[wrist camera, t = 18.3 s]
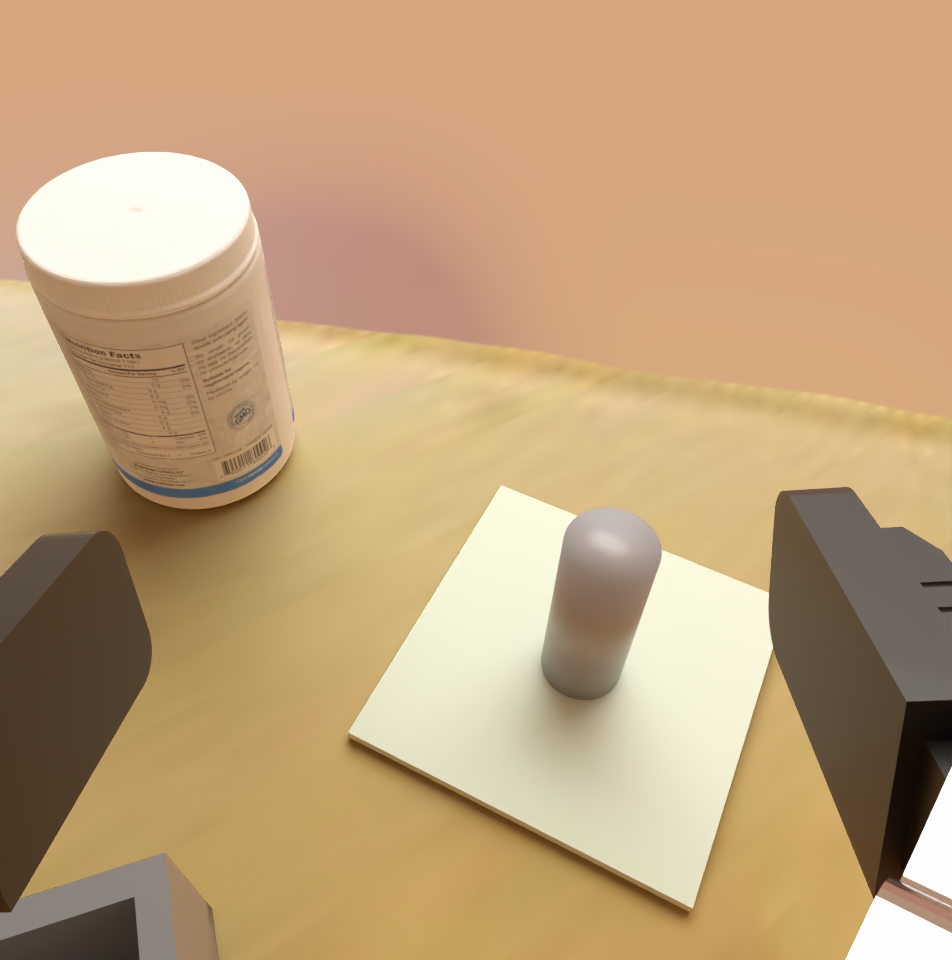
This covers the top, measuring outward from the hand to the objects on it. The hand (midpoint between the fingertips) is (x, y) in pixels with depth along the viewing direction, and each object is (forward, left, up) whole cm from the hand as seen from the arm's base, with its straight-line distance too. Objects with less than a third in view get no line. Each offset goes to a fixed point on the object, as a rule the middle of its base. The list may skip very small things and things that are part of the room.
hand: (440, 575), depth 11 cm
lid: (-10, +10, -27) cm, 30 cm away
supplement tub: (-28, -4, -27) cm, 39 cm away
